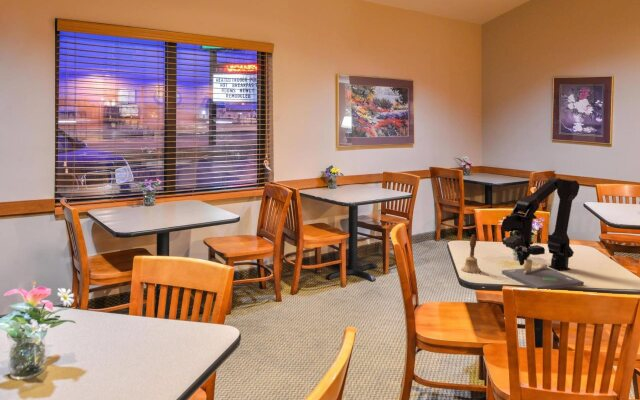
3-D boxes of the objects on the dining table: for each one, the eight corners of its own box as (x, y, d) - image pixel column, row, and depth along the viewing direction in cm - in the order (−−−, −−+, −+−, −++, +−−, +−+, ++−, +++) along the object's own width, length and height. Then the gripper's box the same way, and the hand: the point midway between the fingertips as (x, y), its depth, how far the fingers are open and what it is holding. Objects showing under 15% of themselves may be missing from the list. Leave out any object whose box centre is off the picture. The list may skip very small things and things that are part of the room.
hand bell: (477, 267, 227) (479, 232, 224) (483, 273, 219) (485, 237, 216) (458, 267, 227) (460, 232, 224) (464, 273, 218) (466, 236, 216)
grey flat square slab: (544, 269, 224) (544, 266, 224) (583, 285, 204) (583, 281, 203) (501, 273, 218) (502, 270, 218) (537, 290, 197) (537, 286, 197)
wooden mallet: (540, 265, 224) (541, 254, 223) (548, 267, 221) (549, 256, 220) (520, 272, 214) (520, 260, 213) (528, 274, 211) (528, 262, 210)
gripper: (494, 226, 219) (491, 260, 222) (525, 236, 202) (522, 274, 205) (514, 224, 223) (511, 258, 226) (547, 234, 206) (543, 271, 209)
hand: (521, 265), depth 216 cm, fingers closed
